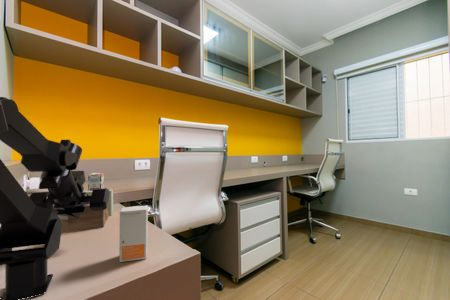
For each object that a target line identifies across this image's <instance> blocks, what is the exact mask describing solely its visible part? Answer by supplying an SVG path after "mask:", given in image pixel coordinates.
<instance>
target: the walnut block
mask: <svg viewBox="0 0 450 300" xmlns="http://www.w3.org/2000/svg"><path fill="white" fill-rule="evenodd" d="M108 218H109V200H108V205H107V208H106V209H105V210H97V211H93V210H90V205H86V208H85V211H84V212H83V213H80V216H79V218H73V217H68V219H67V232H68V233H71V232H77V231H80V232H81V231H84V230H86V231H87V230H95V229H101V228H102V229H103V228H104V227H105V225H106V223H107V221H108Z"/></svg>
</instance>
